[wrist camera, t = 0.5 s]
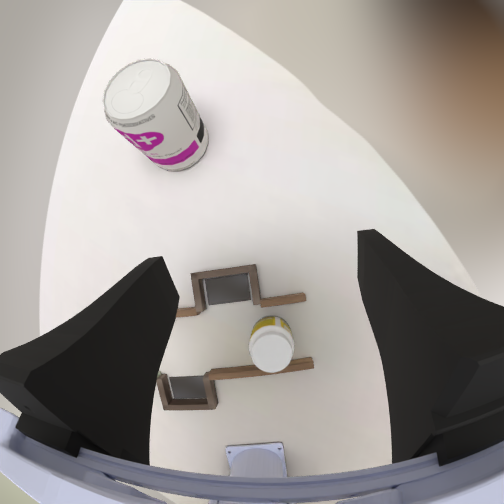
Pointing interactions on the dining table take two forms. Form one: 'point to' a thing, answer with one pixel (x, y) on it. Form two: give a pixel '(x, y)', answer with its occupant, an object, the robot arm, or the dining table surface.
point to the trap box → (204, 385)
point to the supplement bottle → (271, 344)
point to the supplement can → (156, 114)
